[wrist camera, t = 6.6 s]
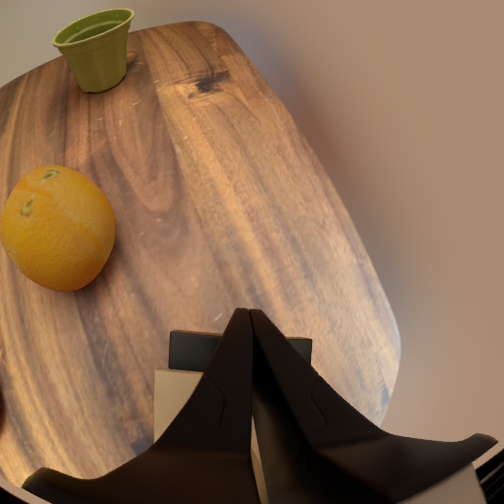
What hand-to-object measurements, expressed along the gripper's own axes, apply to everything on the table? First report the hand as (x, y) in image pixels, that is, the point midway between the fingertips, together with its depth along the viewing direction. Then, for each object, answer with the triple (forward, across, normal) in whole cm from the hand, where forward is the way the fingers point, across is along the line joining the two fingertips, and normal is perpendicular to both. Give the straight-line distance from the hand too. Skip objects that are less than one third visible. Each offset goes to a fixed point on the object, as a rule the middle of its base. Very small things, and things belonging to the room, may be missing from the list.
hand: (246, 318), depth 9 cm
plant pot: (+27, +18, -11) cm, 34 cm away
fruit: (+11, +12, +4) cm, 17 cm away
